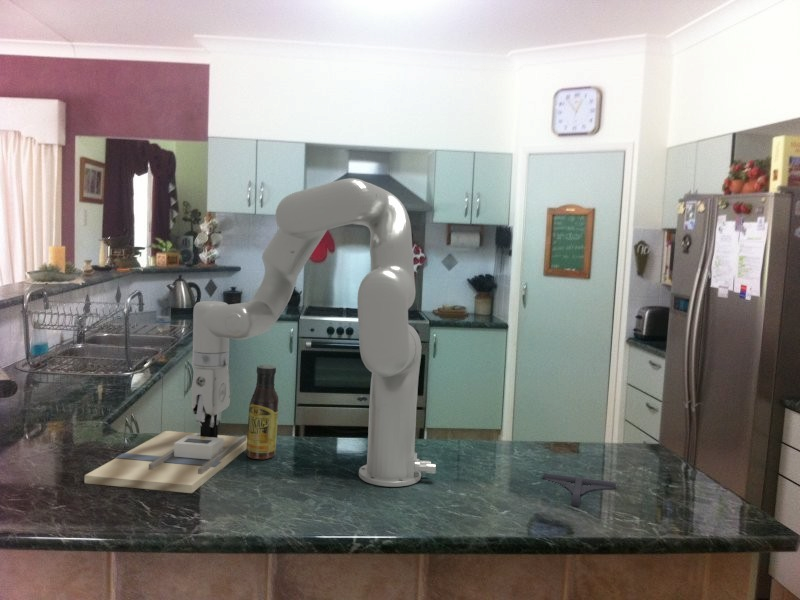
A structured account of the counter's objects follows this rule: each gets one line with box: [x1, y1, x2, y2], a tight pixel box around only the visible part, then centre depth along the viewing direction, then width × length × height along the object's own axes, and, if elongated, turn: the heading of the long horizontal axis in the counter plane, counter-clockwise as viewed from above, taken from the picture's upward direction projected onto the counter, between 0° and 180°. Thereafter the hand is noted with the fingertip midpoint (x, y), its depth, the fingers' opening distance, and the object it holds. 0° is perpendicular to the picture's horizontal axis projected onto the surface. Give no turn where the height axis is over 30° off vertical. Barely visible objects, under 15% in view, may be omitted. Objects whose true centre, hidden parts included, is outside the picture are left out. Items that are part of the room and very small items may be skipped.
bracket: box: [542, 472, 617, 508], centre depth 131 cm, size 14×15×3 cm
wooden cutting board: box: [83, 430, 247, 494], centre depth 140 cm, size 21×32×2 cm, turn 173°
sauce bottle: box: [246, 364, 279, 461], centre depth 145 cm, size 6×6×20 cm
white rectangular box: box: [174, 435, 223, 460], centre depth 139 cm, size 6×8×3 cm
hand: (208, 443), depth 144 cm, fingers closed
